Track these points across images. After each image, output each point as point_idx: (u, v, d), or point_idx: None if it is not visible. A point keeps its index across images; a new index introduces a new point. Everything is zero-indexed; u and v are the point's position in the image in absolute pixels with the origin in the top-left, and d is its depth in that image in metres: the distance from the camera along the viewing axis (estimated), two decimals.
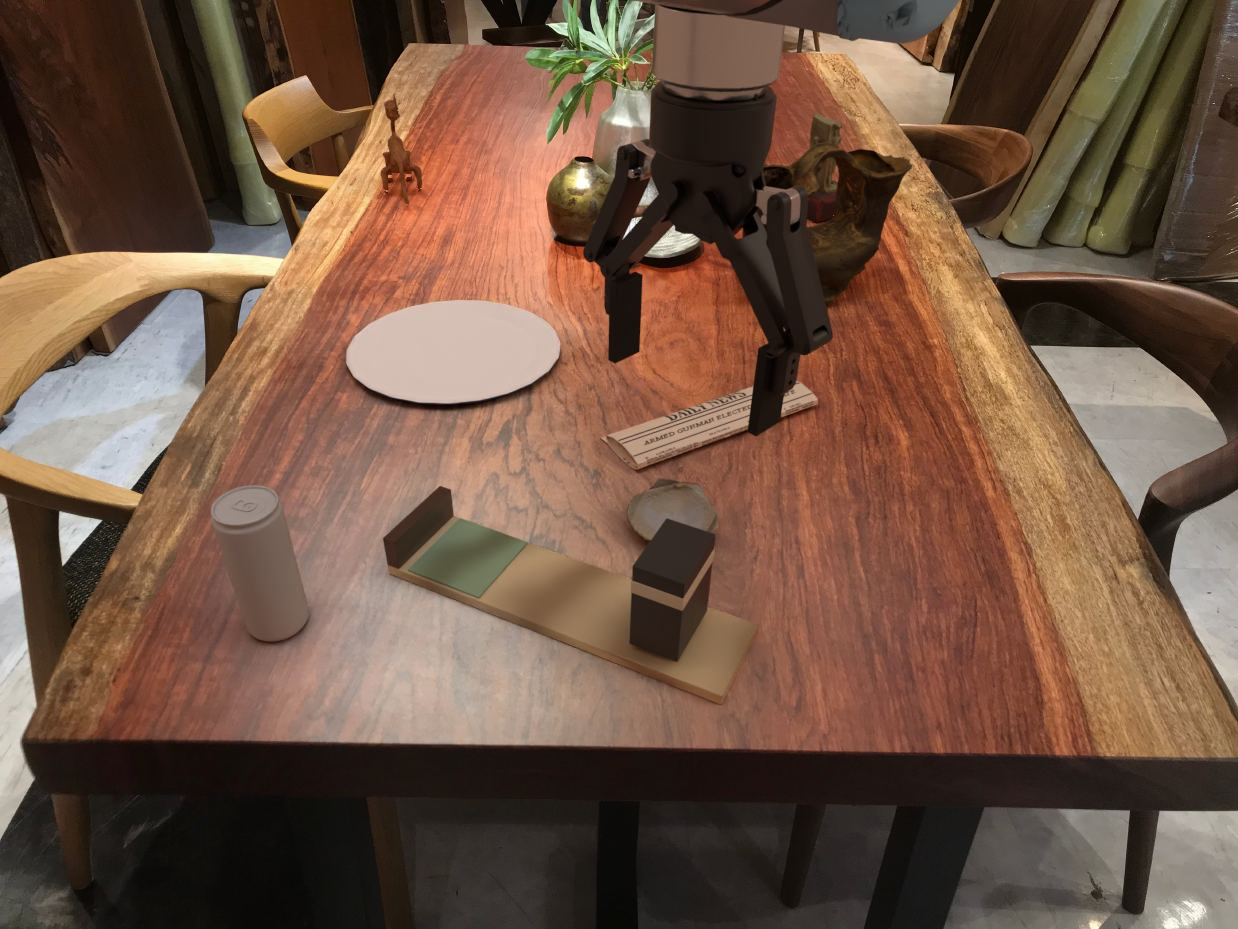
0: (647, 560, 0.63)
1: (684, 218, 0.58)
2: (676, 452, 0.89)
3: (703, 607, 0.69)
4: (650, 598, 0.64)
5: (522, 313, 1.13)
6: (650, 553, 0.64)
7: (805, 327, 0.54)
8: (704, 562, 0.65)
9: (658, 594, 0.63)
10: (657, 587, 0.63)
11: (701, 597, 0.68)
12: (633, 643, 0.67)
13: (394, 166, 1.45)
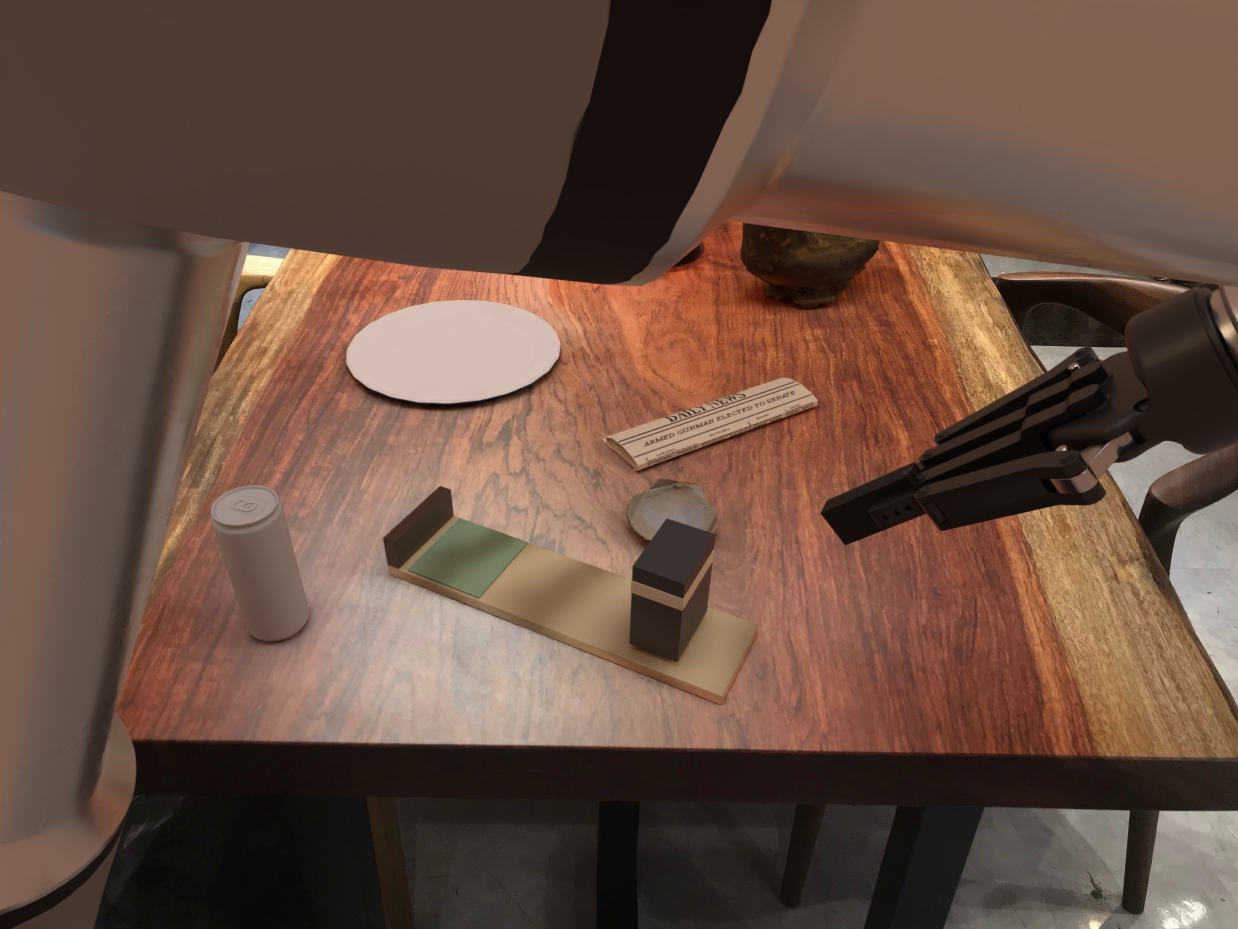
0: (647, 560, 0.63)
1: (1063, 401, 0.47)
2: (676, 453, 0.89)
3: (703, 607, 0.69)
4: (650, 598, 0.64)
5: (522, 313, 1.13)
6: (650, 553, 0.64)
7: (936, 493, 0.48)
8: (704, 562, 0.65)
9: (658, 594, 0.63)
10: (657, 587, 0.63)
11: (701, 597, 0.68)
12: (633, 643, 0.67)
13: None
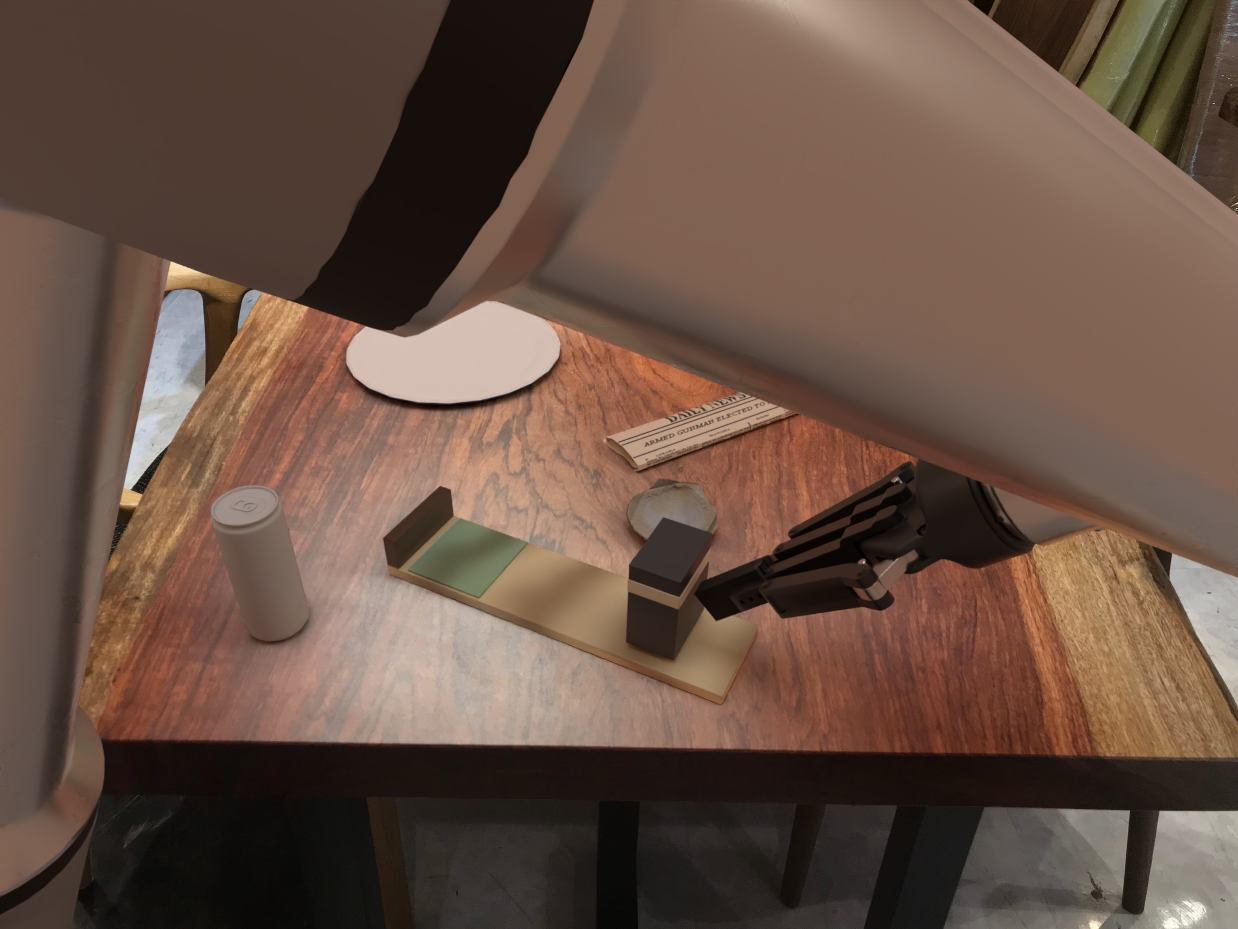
0: (643, 559, 0.64)
1: None
2: (676, 454, 0.89)
3: (700, 606, 0.69)
4: (646, 597, 0.64)
5: (522, 313, 1.13)
6: (646, 552, 0.64)
7: (773, 589, 0.57)
8: (700, 561, 0.65)
9: (654, 593, 0.63)
10: (653, 586, 0.63)
11: None
12: (630, 642, 0.67)
13: None
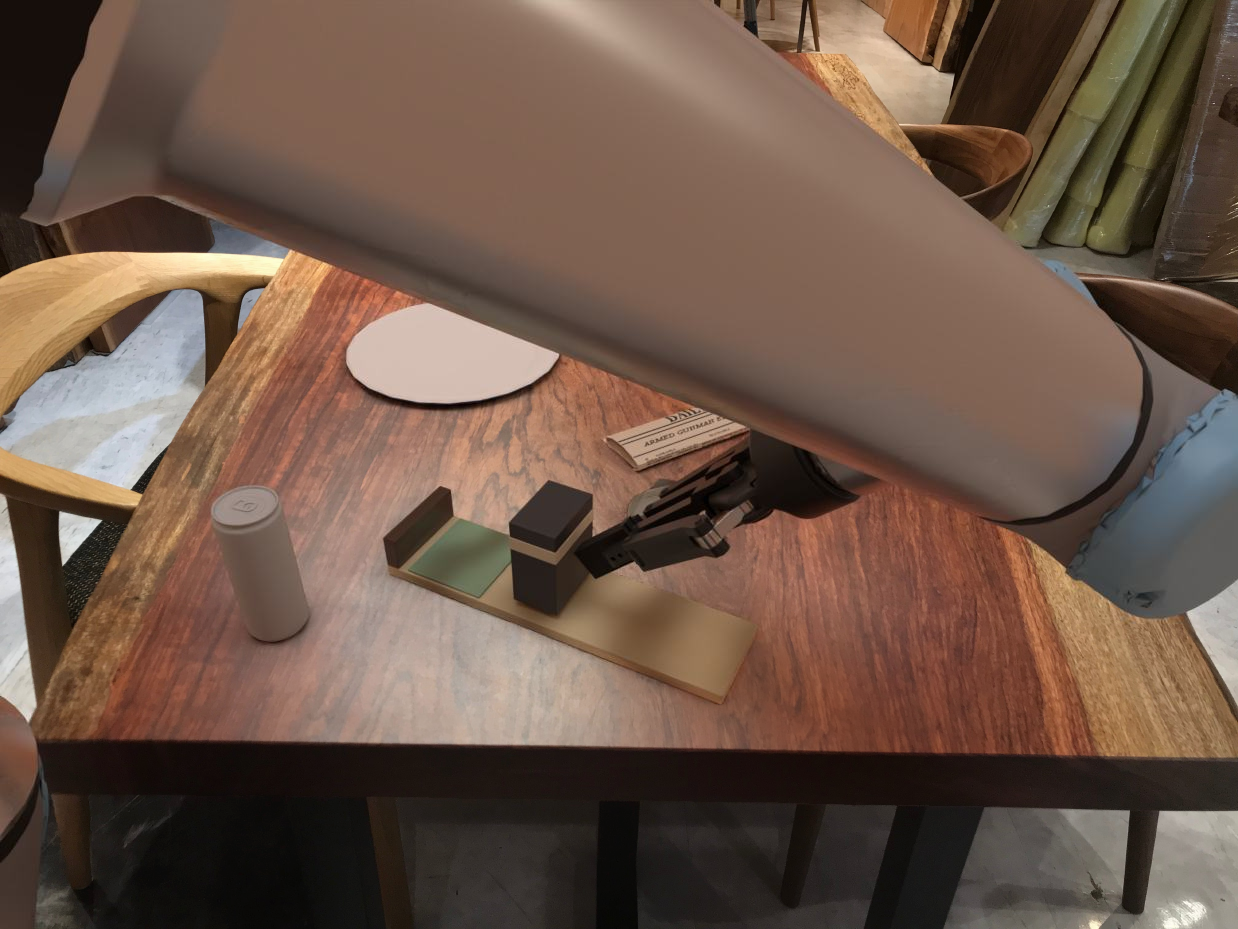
0: (523, 517, 0.67)
1: None
2: (676, 453, 0.89)
3: None
4: (527, 553, 0.67)
5: None
6: (527, 511, 0.68)
7: (632, 543, 0.60)
8: (580, 520, 0.69)
9: (533, 549, 0.67)
10: (532, 542, 0.66)
11: None
12: (517, 598, 0.71)
13: None
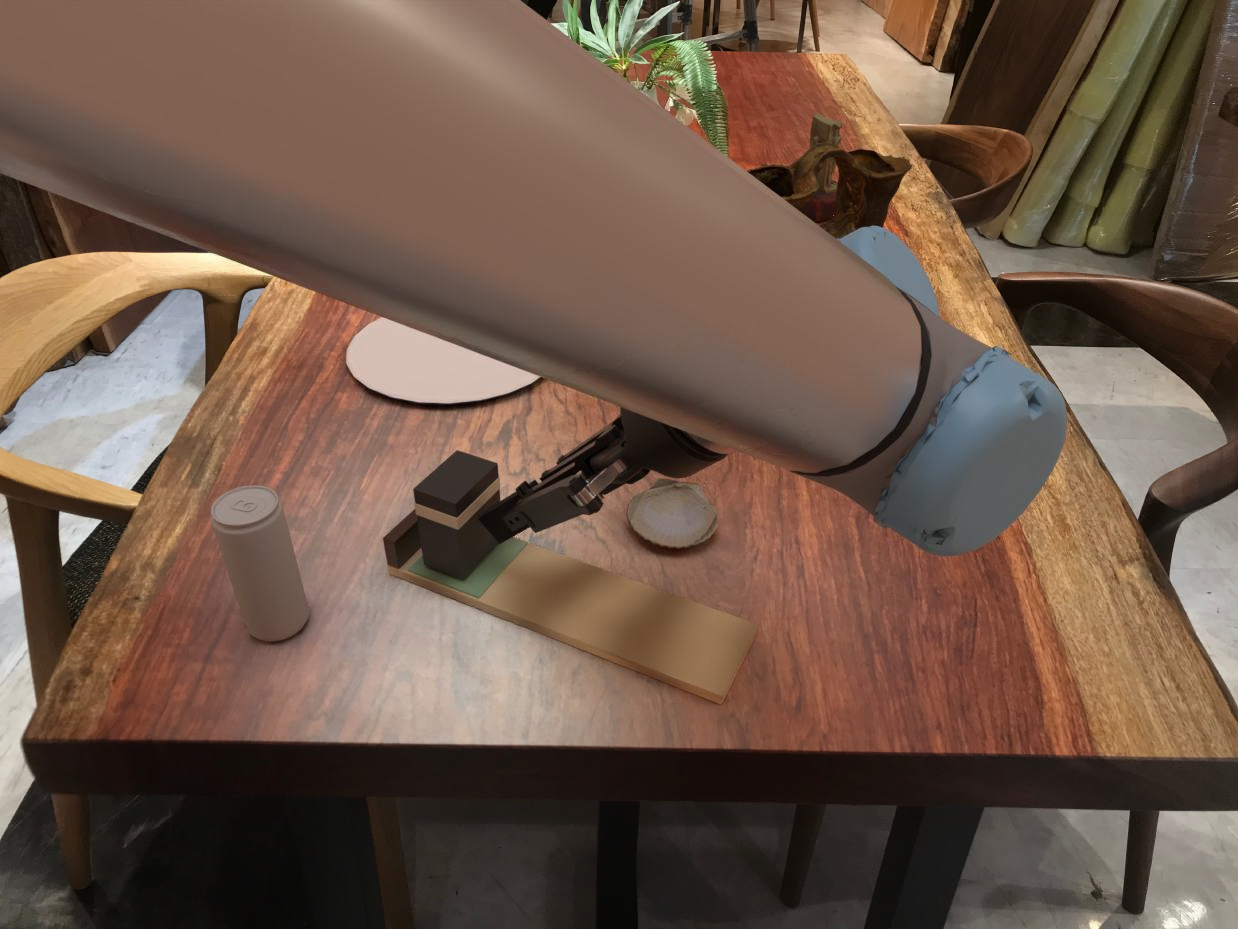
0: (428, 484, 0.70)
1: None
2: None
3: None
4: (432, 519, 0.70)
5: None
6: (432, 479, 0.71)
7: (521, 504, 0.63)
8: (485, 488, 0.72)
9: (437, 515, 0.70)
10: (435, 508, 0.69)
11: None
12: (427, 564, 0.74)
13: None
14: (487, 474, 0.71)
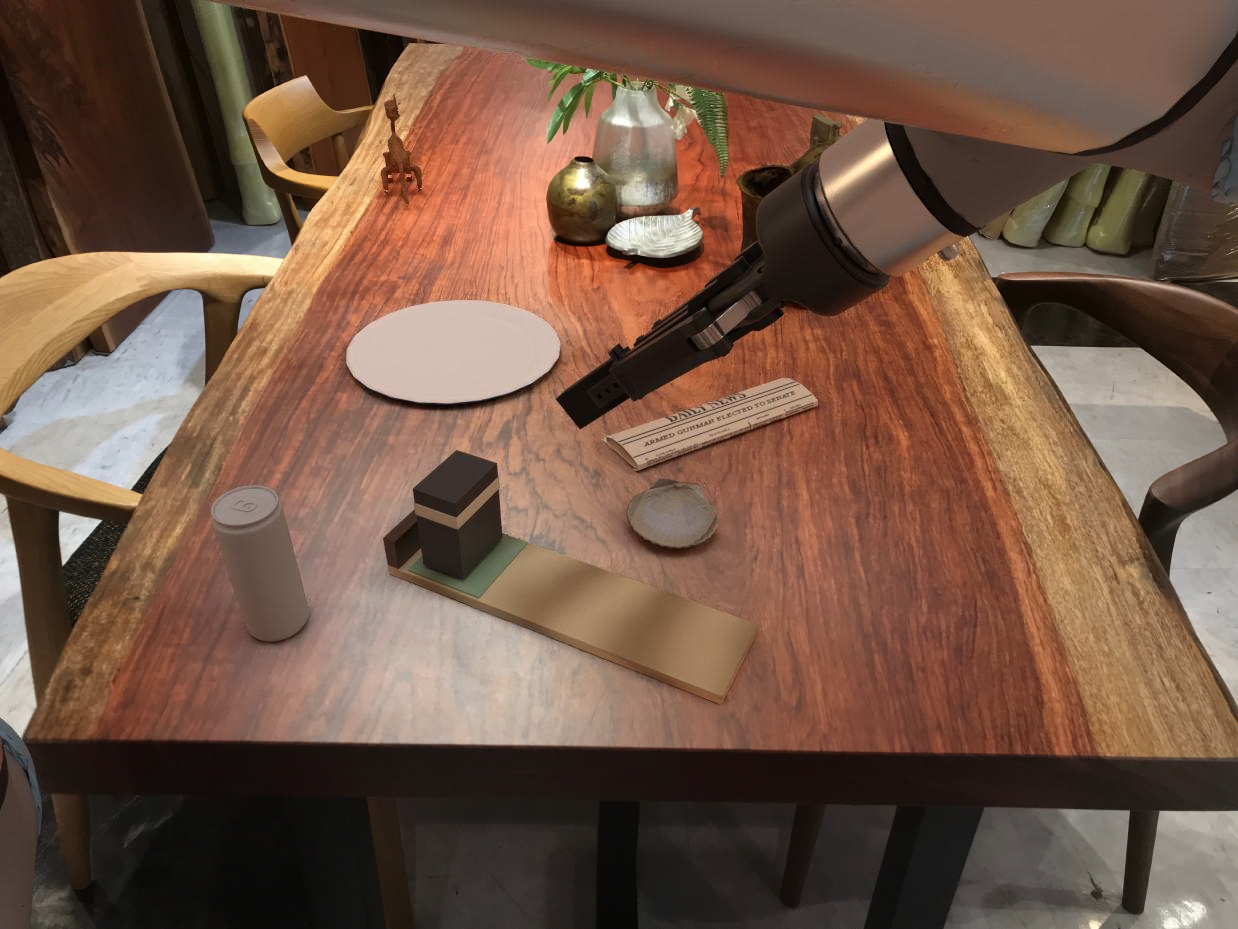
0: (427, 484, 0.70)
1: None
2: (676, 453, 0.89)
3: (495, 532, 0.76)
4: (431, 519, 0.70)
5: (522, 313, 1.13)
6: (431, 478, 0.71)
7: (621, 363, 0.53)
8: (484, 487, 0.72)
9: (436, 514, 0.70)
10: (435, 508, 0.69)
11: (488, 522, 0.74)
12: (426, 564, 0.74)
13: (394, 166, 1.45)
14: (486, 474, 0.71)
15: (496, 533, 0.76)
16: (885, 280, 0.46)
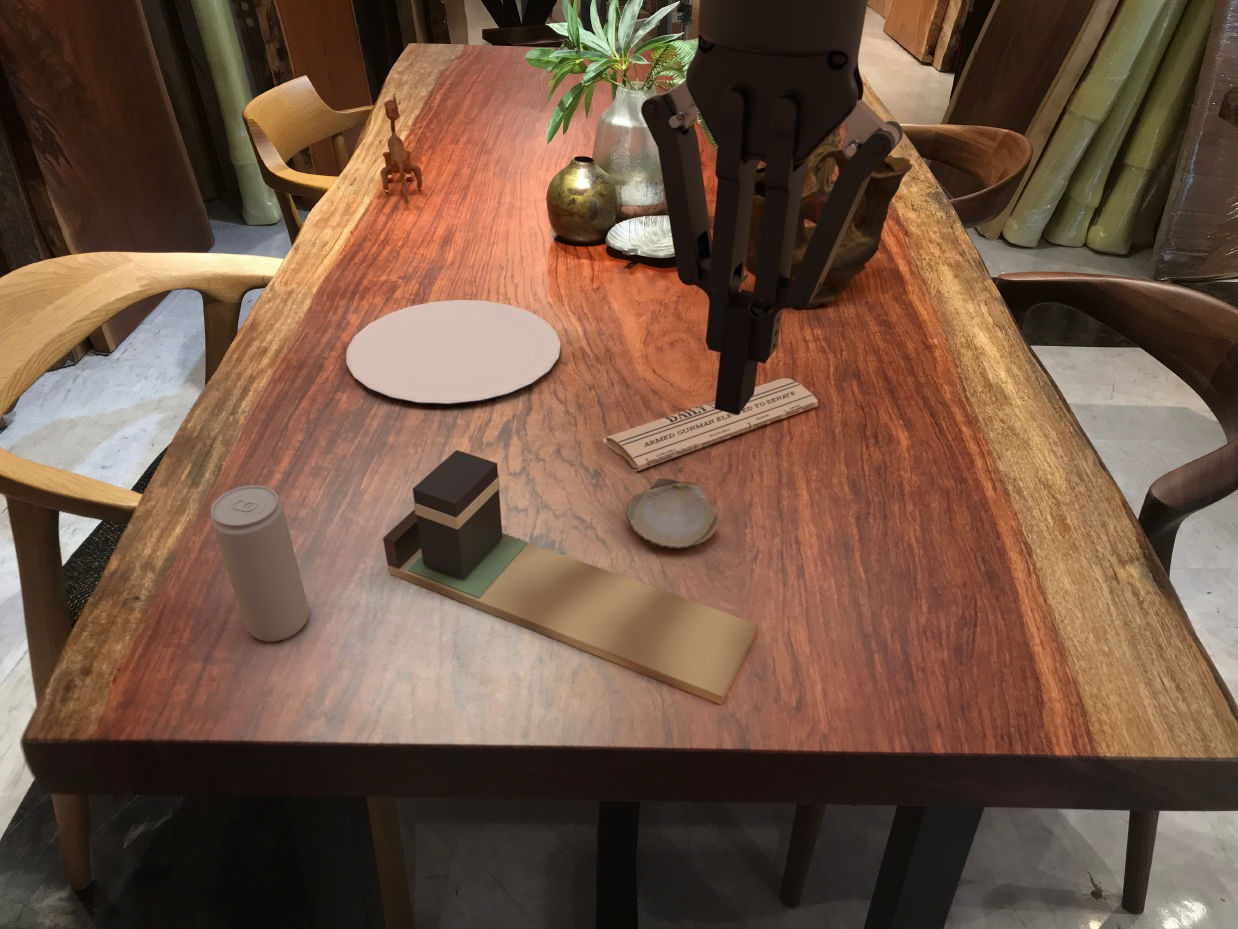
0: (427, 484, 0.70)
1: (745, 139, 0.44)
2: (676, 454, 0.89)
3: (495, 532, 0.76)
4: (431, 519, 0.70)
5: (522, 313, 1.13)
6: (431, 478, 0.71)
7: (816, 286, 0.46)
8: (484, 487, 0.72)
9: (436, 514, 0.70)
10: (435, 508, 0.69)
11: (488, 522, 0.74)
12: (426, 564, 0.74)
13: (394, 166, 1.45)
14: (486, 474, 0.71)
15: (496, 533, 0.76)
16: None
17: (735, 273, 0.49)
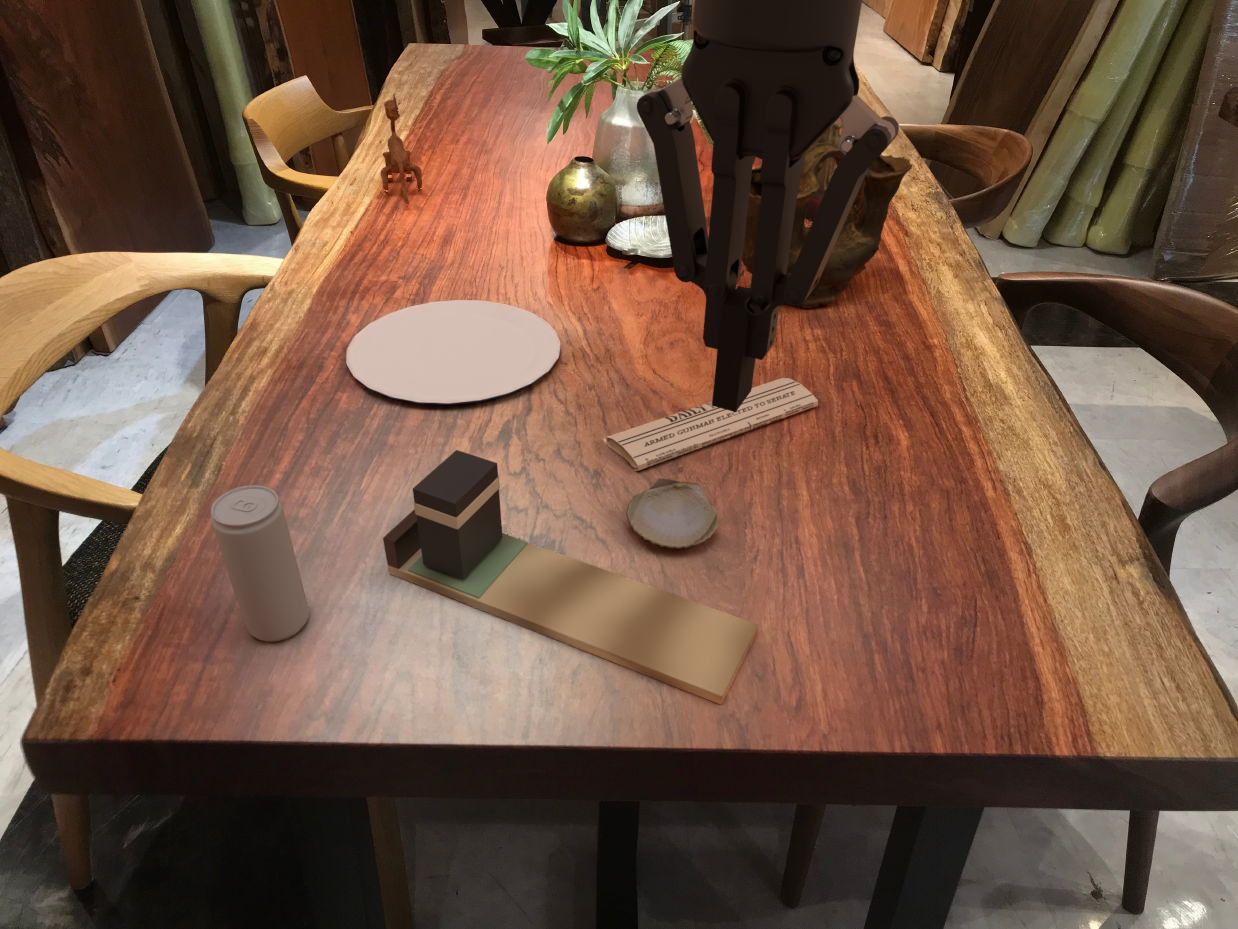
0: (427, 484, 0.70)
1: (741, 135, 0.43)
2: (676, 453, 0.89)
3: (495, 532, 0.76)
4: (431, 519, 0.70)
5: (522, 313, 1.13)
6: (431, 478, 0.71)
7: (812, 282, 0.46)
8: (484, 487, 0.72)
9: (436, 514, 0.70)
10: (435, 508, 0.69)
11: (488, 522, 0.74)
12: (426, 564, 0.74)
13: (394, 166, 1.45)
14: (486, 474, 0.71)
15: (496, 533, 0.76)
16: None
17: (731, 269, 0.49)
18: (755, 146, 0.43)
